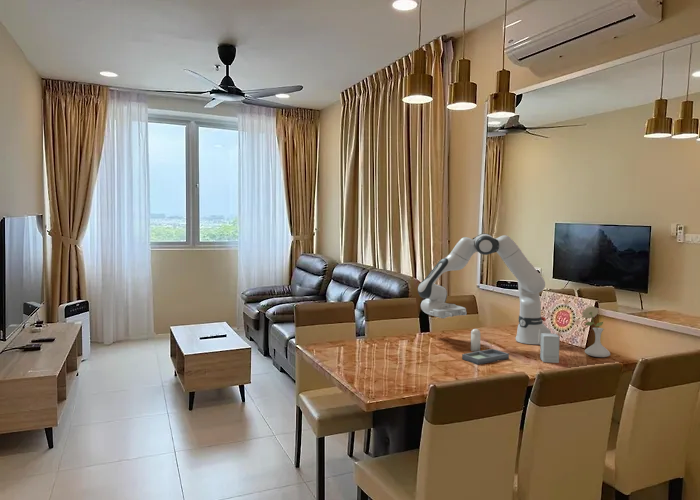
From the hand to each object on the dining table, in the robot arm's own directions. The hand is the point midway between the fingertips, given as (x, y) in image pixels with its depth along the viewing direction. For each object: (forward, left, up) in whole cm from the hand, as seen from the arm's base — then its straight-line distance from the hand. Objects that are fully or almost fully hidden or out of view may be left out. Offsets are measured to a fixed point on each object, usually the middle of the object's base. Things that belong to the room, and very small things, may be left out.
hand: (459, 314), depth 258 cm
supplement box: (-18, +43, -17) cm, 50 cm away
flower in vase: (-45, +49, -17) cm, 69 cm away
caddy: (+7, +26, -17) cm, 32 cm away
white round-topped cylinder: (0, +12, -17) cm, 21 cm away
